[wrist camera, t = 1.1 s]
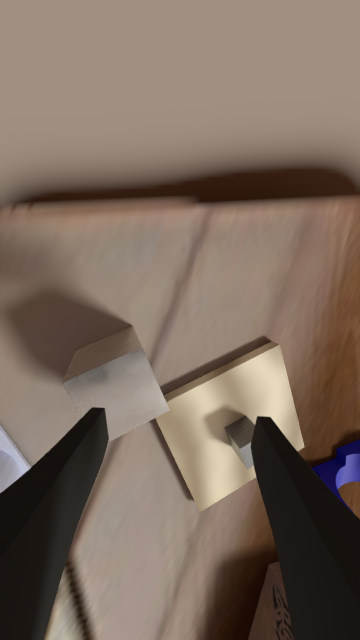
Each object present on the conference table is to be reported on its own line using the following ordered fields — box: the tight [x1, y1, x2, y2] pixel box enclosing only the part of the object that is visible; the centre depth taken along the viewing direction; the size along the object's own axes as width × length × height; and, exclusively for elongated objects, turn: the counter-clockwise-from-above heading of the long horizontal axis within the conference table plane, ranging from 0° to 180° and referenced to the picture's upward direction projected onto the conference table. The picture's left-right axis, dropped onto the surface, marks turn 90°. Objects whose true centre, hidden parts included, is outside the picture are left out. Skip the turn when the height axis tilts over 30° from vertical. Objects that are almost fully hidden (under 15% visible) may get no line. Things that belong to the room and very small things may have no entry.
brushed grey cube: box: [62, 326, 170, 442], centre depth 17 cm, size 5×5×6 cm
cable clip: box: [312, 439, 360, 512], centre depth 29 cm, size 12×4×6 cm, turn 97°
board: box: [155, 341, 304, 512], centre depth 25 cm, size 14×14×1 cm
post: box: [224, 416, 255, 469], centre depth 23 cm, size 3×3×3 cm
